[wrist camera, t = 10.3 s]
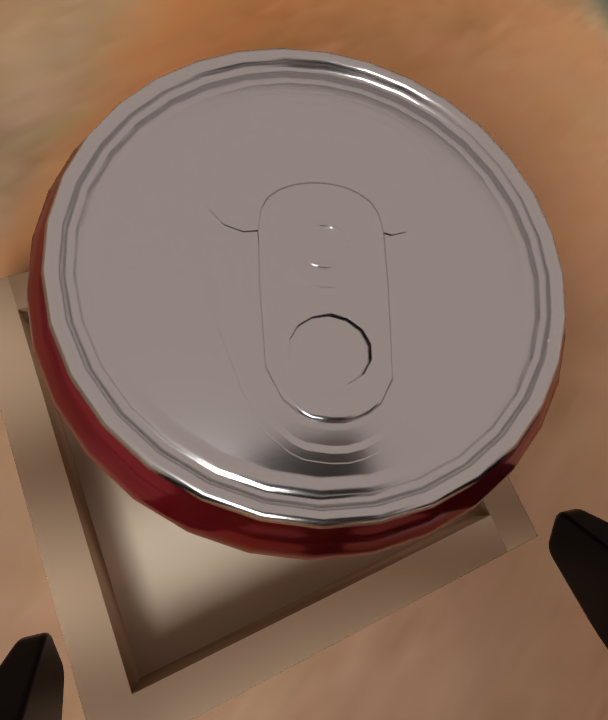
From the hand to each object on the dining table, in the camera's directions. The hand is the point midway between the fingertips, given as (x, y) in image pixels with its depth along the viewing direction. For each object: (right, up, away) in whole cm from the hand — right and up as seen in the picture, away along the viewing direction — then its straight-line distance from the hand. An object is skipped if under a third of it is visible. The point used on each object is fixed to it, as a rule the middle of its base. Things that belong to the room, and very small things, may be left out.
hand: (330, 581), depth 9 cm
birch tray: (-2, +1, +10) cm, 10 cm away
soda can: (-2, +1, +9) cm, 9 cm away
